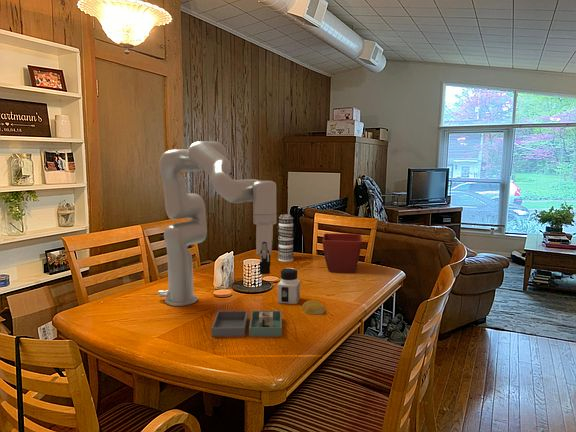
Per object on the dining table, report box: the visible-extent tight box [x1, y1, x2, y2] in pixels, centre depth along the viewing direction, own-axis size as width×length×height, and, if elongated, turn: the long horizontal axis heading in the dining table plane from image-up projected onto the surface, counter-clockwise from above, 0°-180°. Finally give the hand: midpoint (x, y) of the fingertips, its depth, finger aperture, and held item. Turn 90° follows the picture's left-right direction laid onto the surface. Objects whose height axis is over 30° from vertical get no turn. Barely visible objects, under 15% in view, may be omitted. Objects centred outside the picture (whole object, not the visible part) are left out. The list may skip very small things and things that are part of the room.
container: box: [277, 267, 301, 305], centre depth 175 cm, size 8×8×13 cm
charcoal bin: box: [210, 310, 249, 338], centre depth 147 cm, size 10×15×4 cm
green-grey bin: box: [248, 310, 283, 338], centre depth 147 cm, size 10×15×4 cm
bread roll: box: [301, 299, 326, 315], centre depth 164 cm, size 8×9×4 cm
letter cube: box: [259, 312, 273, 327], centre depth 147 cm, size 4×5×5 cm
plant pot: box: [321, 232, 363, 274], centre depth 221 cm, size 19×19×17 cm
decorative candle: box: [277, 213, 295, 263], centre depth 239 cm, size 9×9×25 cm
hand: (265, 269), depth 145 cm, fingers open, 9 cm apart
